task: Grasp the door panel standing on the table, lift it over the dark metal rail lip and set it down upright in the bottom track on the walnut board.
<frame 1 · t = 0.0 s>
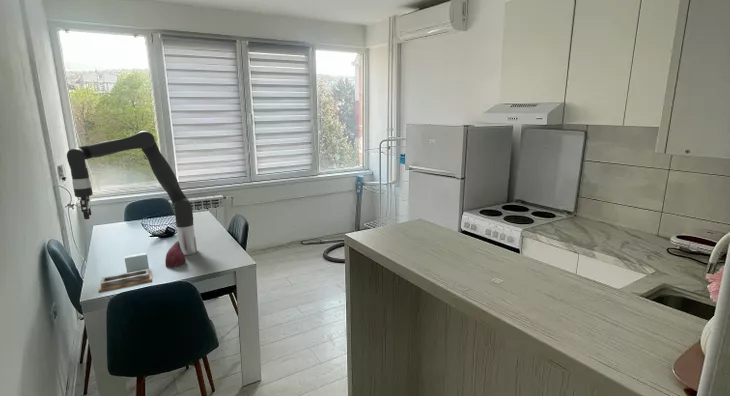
hand: (88, 217, 195), 29 cm above the table, fingers open, 8 cm apart
door panel: (138, 271, 199), on the table
track board: (126, 281, 186), on the table
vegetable: (175, 264, 208), on the table
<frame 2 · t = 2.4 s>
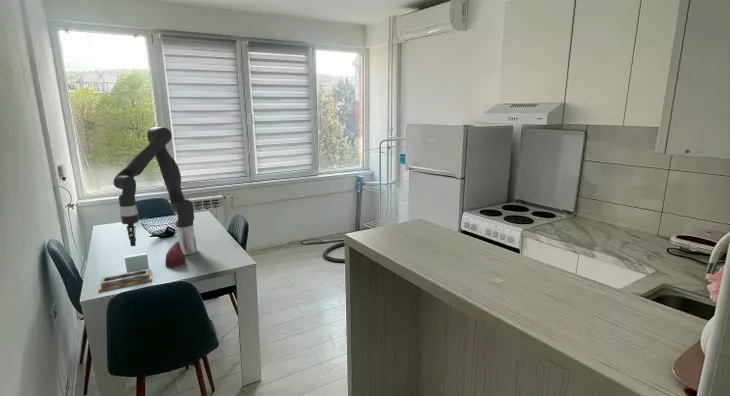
hand: (133, 243, 195), 16 cm above the table, fingers open, 8 cm apart
nothing on the table moved.
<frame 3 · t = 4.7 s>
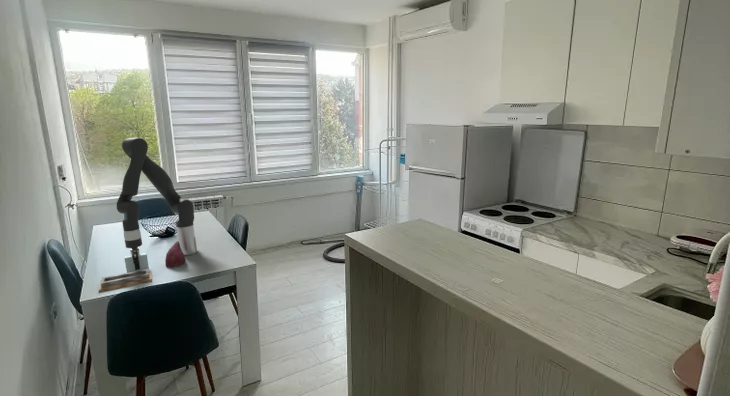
hand: (137, 268, 198), 2 cm above the table, fingers closed on door panel, 3 cm apart
door panel: (138, 271, 199), on the table, touching gripper
everything else where it was.
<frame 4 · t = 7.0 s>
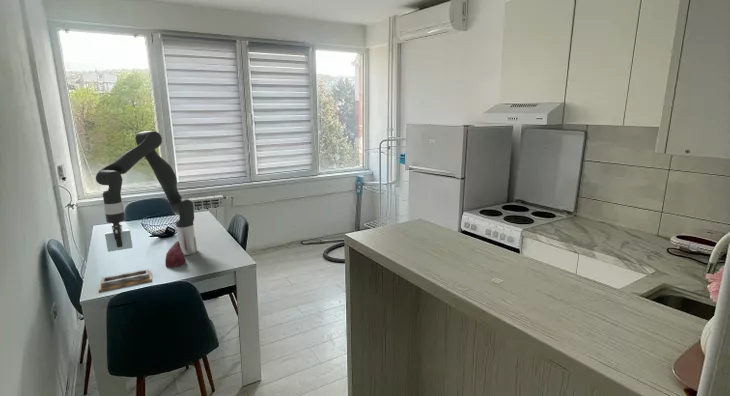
hand: (120, 245, 182), 19 cm above the table, fingers closed on door panel, 3 cm apart
door panel: (120, 248, 182), point 17 cm above the table, touching gripper
everything else where it was.
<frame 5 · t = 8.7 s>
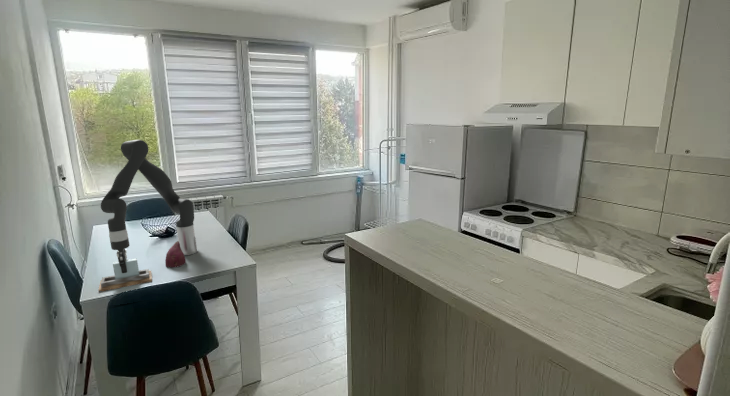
hand: (124, 271, 185), 6 cm above the table, fingers closed on door panel, 3 cm apart
door panel: (127, 277, 186), point 2 cm above the table, touching gripper
everything else where it was.
when the fingers open (5 cm above the table, at t = 9.6 s): door panel stays where it is, resting on track board.
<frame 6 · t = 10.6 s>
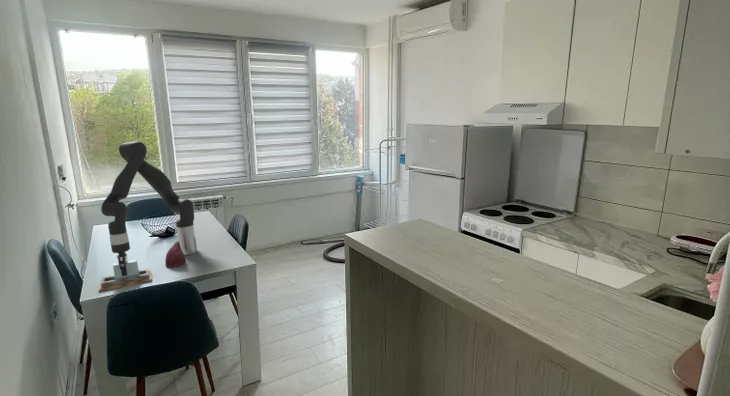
hand: (125, 272, 185), 5 cm above the table, fingers open, 8 cm apart
door panel: (127, 279, 186), point 1 cm above the table, touching track board
everything else where it was.
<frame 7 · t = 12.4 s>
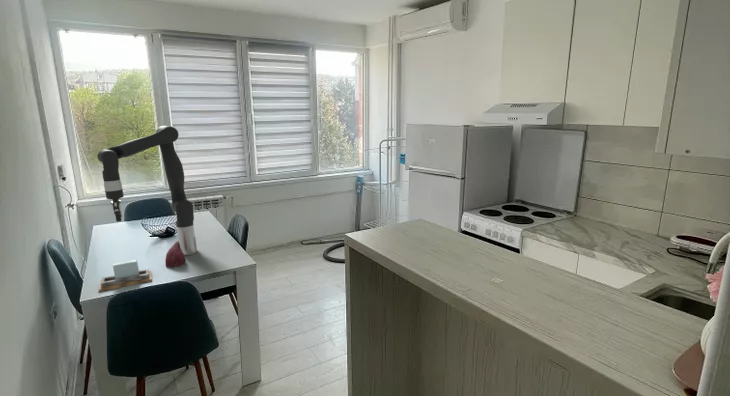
hand: (119, 219, 194), 28 cm above the table, fingers open, 8 cm apart
nothing on the table moved.
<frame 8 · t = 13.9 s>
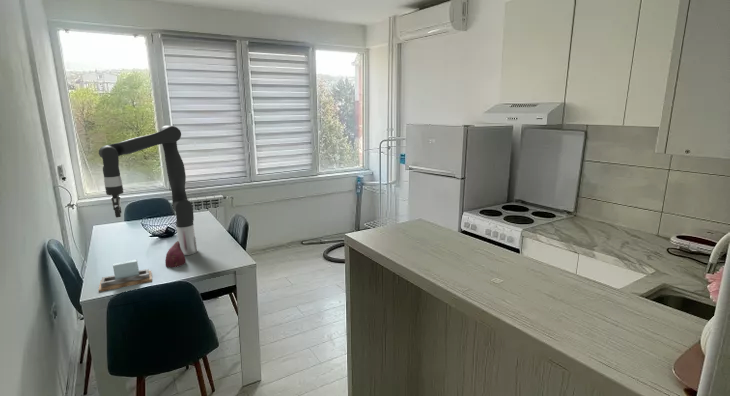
hand: (118, 215, 195), 30 cm above the table, fingers open, 8 cm apart
nothing on the table moved.
at the end: door panel inside the target area on the track board (0.7 cm from its centre), point 1.2 cm above the track board's base; door panel tilted 0°; the gripper is holding nothing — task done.
